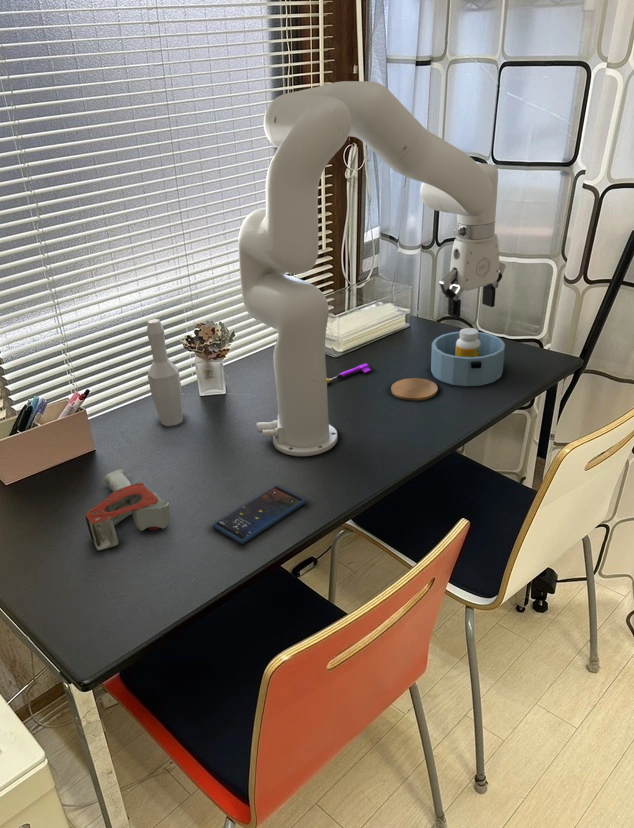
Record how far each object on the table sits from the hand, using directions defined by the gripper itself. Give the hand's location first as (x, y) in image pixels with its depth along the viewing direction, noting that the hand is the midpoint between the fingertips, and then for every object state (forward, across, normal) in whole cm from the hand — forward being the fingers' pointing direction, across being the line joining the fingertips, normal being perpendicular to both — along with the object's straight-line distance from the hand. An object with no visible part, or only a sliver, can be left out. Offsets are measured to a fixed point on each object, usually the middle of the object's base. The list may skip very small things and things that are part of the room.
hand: (471, 310), depth 153 cm
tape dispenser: (+13, -83, -9) cm, 85 cm away
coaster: (+14, -16, 0) cm, 21 cm away
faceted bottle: (+13, -64, +19) cm, 68 cm away
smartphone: (+13, -65, -22) cm, 70 cm away
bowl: (+14, 0, 0) cm, 14 cm away
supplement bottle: (+14, -1, 0) cm, 14 cm away
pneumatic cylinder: (+14, -25, +14) cm, 32 cm away
